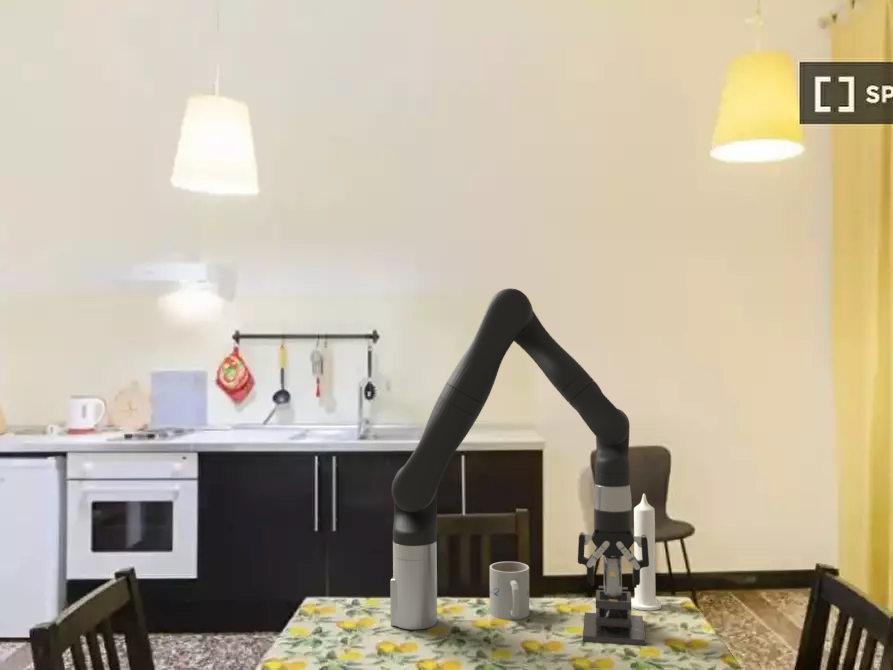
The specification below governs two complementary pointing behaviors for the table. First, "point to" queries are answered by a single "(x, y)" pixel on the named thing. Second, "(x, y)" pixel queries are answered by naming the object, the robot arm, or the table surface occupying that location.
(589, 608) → the table surface
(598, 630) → the bracket
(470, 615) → the table surface
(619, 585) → the tube
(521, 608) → the mug
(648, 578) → the candle
